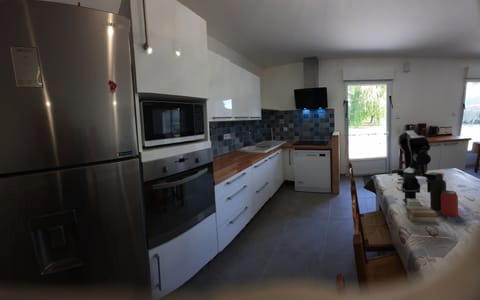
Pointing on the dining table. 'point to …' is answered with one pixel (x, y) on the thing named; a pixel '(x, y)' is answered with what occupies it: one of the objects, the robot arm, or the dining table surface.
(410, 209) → the slab top
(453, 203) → the beer can
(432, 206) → the bottle
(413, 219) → the slab bottom
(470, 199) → the dining table surface
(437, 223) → the mat
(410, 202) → the sage block
